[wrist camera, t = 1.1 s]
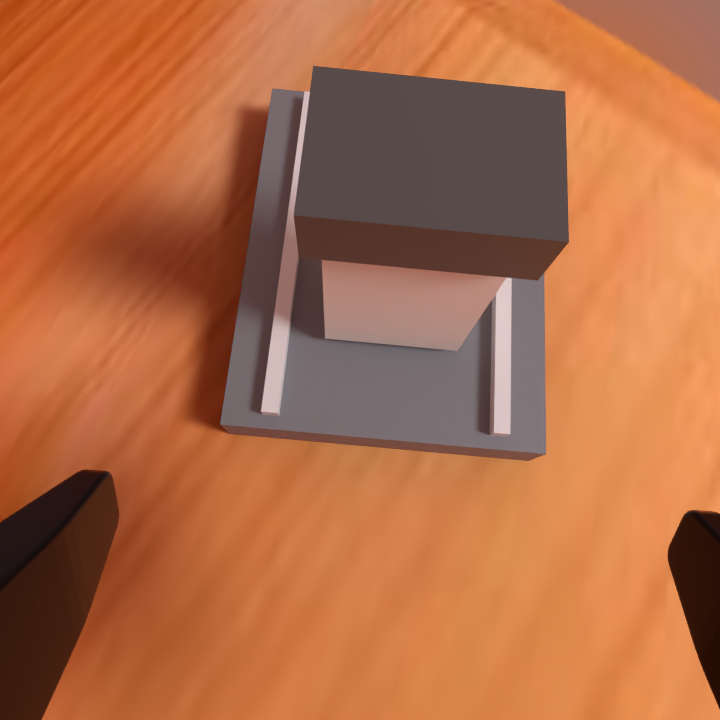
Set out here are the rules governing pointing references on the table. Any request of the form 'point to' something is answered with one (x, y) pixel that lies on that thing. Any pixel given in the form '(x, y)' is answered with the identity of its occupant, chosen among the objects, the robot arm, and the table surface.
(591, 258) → the table surface
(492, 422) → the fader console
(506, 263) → the fader knob
